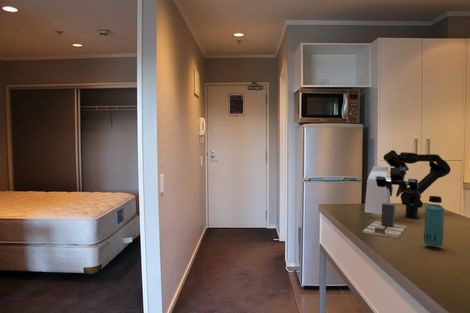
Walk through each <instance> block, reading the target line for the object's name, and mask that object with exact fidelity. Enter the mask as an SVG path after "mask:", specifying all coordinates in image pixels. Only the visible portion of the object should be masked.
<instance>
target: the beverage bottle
mask: <svg viewBox="0 0 470 313" xmlns="http://www.w3.org/2000/svg"><path fill="white" fill-rule="evenodd" d="M428 202H430V203H429V204H427V205H426V206H425V209H424V210H425V212H424V228H423V232H424V233H423V242H424V244H425V245H427V246H431V247H437V248H438V247H439V248H440V247H443V245H444V222H445V221H444V218H445V208H444V207H443V206H442V205H441V203H442V197H441V196H439V195H429V197H428ZM433 203H434V204H433ZM435 203H436V204H435Z"/></svg>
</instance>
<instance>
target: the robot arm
mask: <svg viewBox="0 0 470 313" xmlns="http://www.w3.org/2000/svg"><path fill="white" fill-rule="evenodd" d="M382 159H383V160H384V161H385V162H386V163H387V164H388V165H389V166H390V171H389V174H390V175H389V178H390V179H385V177H381V176H378V177H376V182H377V186H378V187H385V186H386V188H387V189H389V191H390V197H392V196H393V190H394V188H393V185H394V186H398V187H397V191H396V194H395V195H396V196H395V197H396V198H398V197H399V196H400V201H401V205H405V214H404V218H407V219H415V220H419V219H420V217H419V215H418V214H419V208H423V205H424V203H423V201H422V200H421V197H422V194H423V193H424V192H425V191H427V189H428V188H429V187H431V186H432V185H433V184H434V183H435V182H436V181H438V179H439V178H443V177H446V176H447V175H449V174H450V173H451V167H450V164H448V162H447V161H446V160H444V159H443V158H441V156H440V155H439V154H438V153H436V154H435V153H429V154H418V153H415V152H405V151H403V152H400V154H398V153H397V152H396V150H395V149H394V150H393V149H392V150H390V151H389V152H387V153H385V154H384V155H383V157H382ZM417 162H428V166H429V167H430V168H429V173H428V174H426V175H425V176H424V177H423V178H422V179H421V180H420V181H418V179H417V178H408V179H407V180H405V175H407V171H409V169H410V168H409V167H408V166H407V165H408V164H416V163H417Z"/></svg>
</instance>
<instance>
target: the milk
mask: <svg viewBox="0 0 470 313" xmlns="http://www.w3.org/2000/svg"><path fill="white" fill-rule="evenodd" d="M371 168H372V169H371V171H370V173H369V175H368V177H367V181H366V192H365V201H364V202H365V204H364V213H369V214H376V215H382V204H383V203H388V204H391V196H390V191H389V189H387V188H386V186H385V187H378V186H377V182H376V177H378V176H381V177H385V179H391V178H390V175H389V173H388V171H387V169H386V167H385V166H379V165H378V166H376V165H375V166H374V165H373V167H371Z"/></svg>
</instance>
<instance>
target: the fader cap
mask: <svg viewBox="0 0 470 313" xmlns="http://www.w3.org/2000/svg"><path fill="white" fill-rule="evenodd" d="M395 213H396V204H395V203H390V204H388V203H383V204H382V214H381V220H380V222H381V225H382V226H389V227H393V226H394V225H395V218H396V217H395V215H396V214H395Z"/></svg>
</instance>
